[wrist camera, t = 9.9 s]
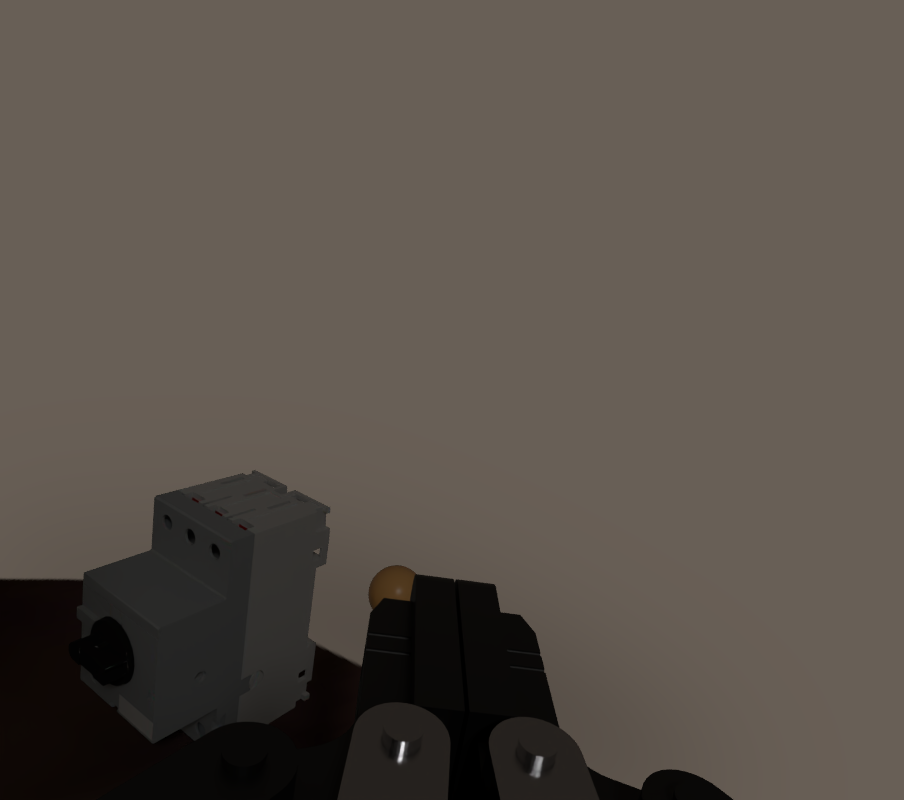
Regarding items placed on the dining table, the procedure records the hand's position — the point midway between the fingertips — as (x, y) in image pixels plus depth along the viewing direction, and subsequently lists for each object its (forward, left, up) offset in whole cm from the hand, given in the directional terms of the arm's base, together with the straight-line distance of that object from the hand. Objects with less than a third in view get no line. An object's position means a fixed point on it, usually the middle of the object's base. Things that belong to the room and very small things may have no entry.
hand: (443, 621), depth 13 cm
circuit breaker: (-22, +23, -28) cm, 42 cm away
